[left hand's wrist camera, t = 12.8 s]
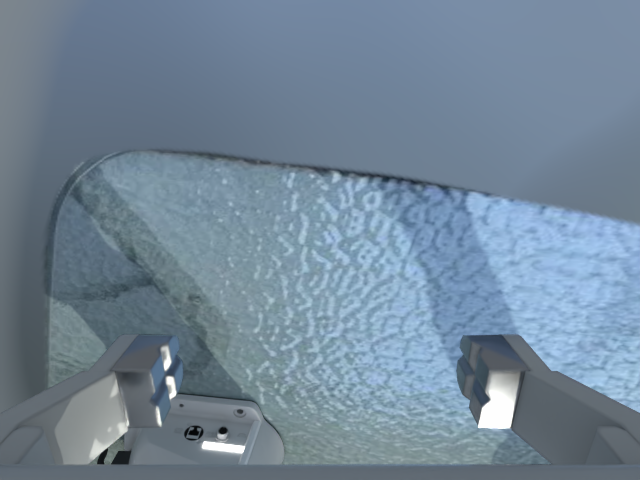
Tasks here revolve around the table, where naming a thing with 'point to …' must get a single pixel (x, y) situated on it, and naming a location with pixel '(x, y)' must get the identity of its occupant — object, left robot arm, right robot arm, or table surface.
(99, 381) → the left robot arm
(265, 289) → the table surface
